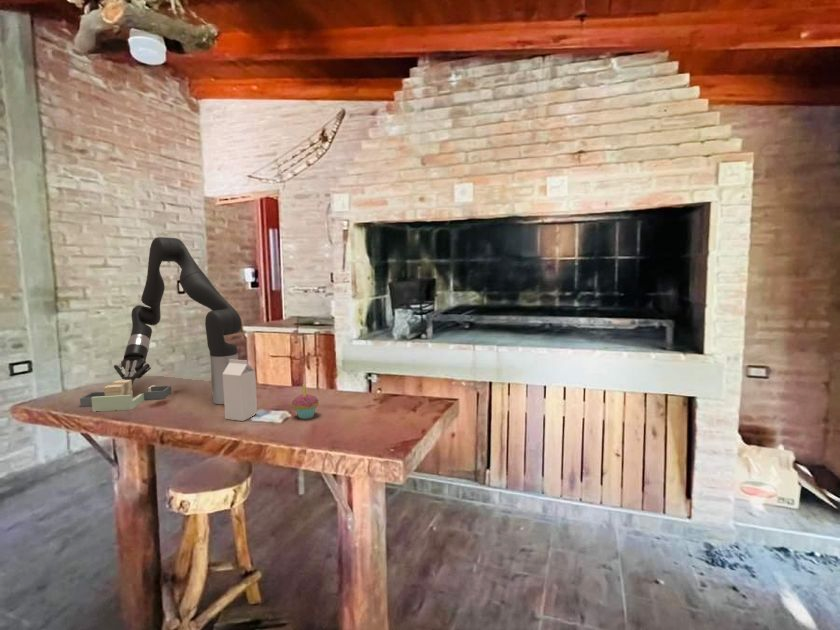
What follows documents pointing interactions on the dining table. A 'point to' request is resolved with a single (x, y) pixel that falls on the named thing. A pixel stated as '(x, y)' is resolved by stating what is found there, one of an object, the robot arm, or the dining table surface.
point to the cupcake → (305, 405)
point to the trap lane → (123, 399)
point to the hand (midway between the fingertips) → (127, 387)
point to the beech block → (119, 388)
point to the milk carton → (239, 390)
